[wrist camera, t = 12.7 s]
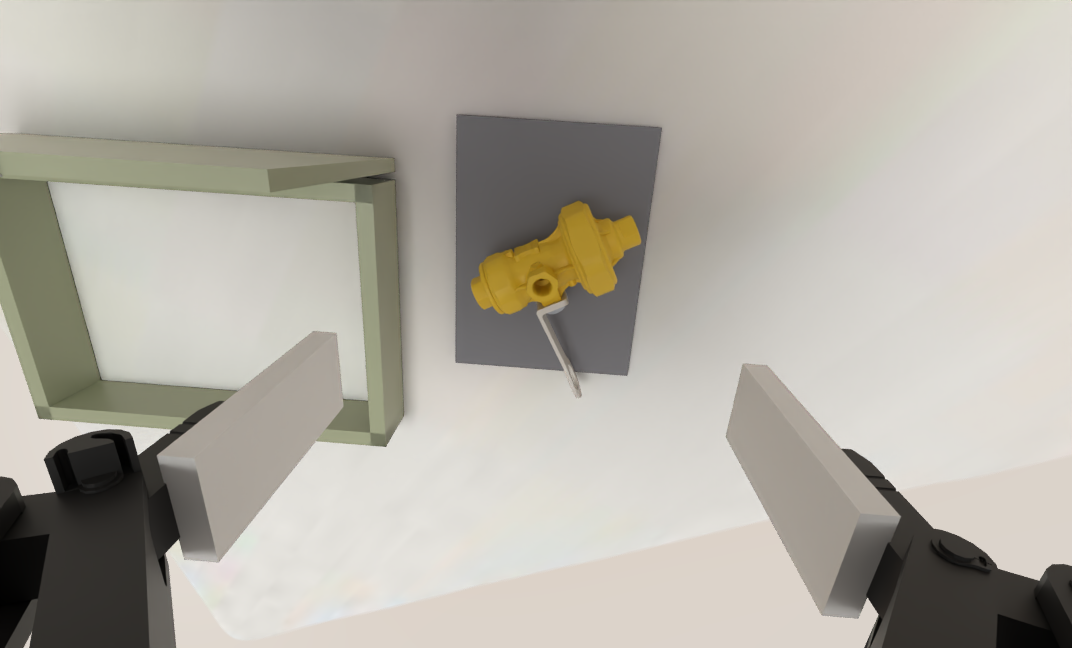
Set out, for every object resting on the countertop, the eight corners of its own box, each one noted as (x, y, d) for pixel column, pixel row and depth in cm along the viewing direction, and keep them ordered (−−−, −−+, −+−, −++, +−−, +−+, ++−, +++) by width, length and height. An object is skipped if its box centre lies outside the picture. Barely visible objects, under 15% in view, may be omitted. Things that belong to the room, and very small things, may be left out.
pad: (458, 115, 29) (456, 114, 29) (659, 127, 29) (661, 127, 29) (457, 358, 35) (455, 362, 34) (626, 371, 35) (627, 375, 34)
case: (17, 131, 31) (-440, 121, 17) (394, 156, 30) (247, 167, 16) (91, 390, 37) (-196, 541, 23) (403, 415, 37) (304, 586, 23)
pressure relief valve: (462, 242, 31) (613, 176, 29) (538, 384, 36) (669, 335, 35) (451, 277, 26) (632, 201, 24) (540, 434, 31) (693, 381, 30)
